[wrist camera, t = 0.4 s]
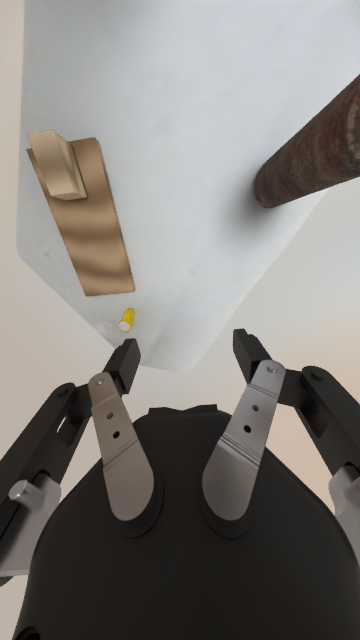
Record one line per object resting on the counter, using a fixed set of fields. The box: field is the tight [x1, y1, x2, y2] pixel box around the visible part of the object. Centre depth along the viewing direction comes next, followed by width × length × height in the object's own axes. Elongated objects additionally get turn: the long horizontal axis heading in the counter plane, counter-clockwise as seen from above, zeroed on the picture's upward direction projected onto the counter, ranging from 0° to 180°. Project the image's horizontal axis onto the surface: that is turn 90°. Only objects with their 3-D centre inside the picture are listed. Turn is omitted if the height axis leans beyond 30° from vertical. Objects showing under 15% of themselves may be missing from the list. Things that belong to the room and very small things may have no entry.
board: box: [26, 137, 136, 296], centre depth 33 cm, size 26×12×2 cm, turn 6°
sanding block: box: [27, 130, 89, 201], centre depth 26 cm, size 7×4×4 cm, turn 6°
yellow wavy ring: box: [118, 309, 134, 333], centre depth 40 cm, size 6×3×6 cm, turn 165°
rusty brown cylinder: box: [255, 75, 360, 208], centre depth 20 cm, size 8×7×20 cm
